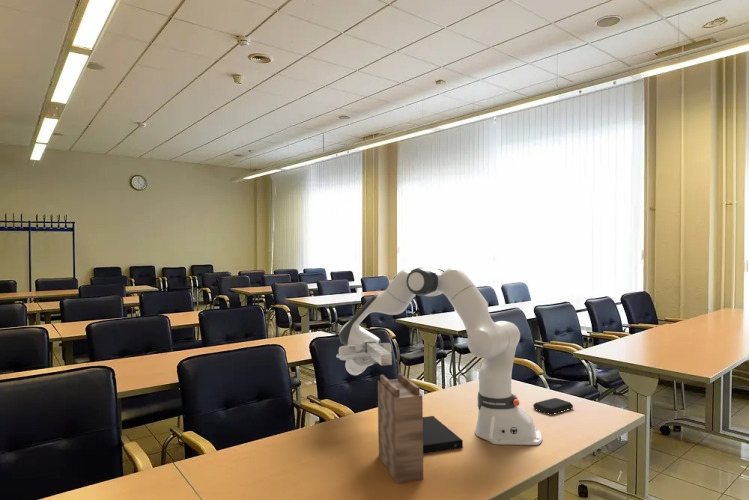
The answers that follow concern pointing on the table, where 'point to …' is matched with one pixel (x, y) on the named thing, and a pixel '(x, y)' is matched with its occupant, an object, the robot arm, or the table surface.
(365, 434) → the table surface
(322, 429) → the table surface
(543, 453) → the table surface
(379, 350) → the bar
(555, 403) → the black microchip
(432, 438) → the external hard drive
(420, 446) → the block
